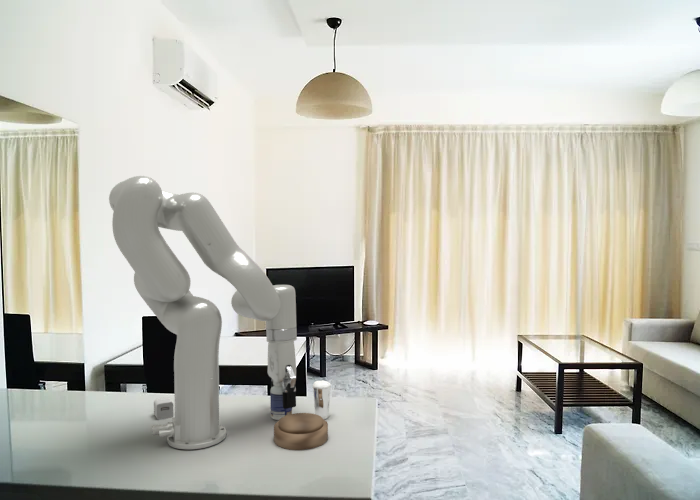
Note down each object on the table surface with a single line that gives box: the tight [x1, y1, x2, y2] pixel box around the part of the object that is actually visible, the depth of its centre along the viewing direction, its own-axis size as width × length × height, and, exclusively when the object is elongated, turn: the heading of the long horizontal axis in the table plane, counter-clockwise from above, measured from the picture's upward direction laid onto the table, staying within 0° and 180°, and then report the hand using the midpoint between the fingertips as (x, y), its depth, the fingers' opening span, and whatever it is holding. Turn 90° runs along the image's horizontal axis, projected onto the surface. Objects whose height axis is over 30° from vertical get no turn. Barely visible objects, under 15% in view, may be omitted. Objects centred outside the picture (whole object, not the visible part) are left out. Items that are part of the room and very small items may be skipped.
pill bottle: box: [269, 378, 293, 421], centre depth 122 cm, size 5×5×10 cm
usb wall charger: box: [153, 397, 174, 421], centre depth 124 cm, size 4×7×4 cm, turn 30°
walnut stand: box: [273, 412, 329, 451], centre depth 108 cm, size 12×12×4 cm
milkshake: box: [312, 377, 335, 420], centre depth 121 cm, size 5×5×10 cm
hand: (283, 401), depth 122 cm, fingers open, 9 cm apart
